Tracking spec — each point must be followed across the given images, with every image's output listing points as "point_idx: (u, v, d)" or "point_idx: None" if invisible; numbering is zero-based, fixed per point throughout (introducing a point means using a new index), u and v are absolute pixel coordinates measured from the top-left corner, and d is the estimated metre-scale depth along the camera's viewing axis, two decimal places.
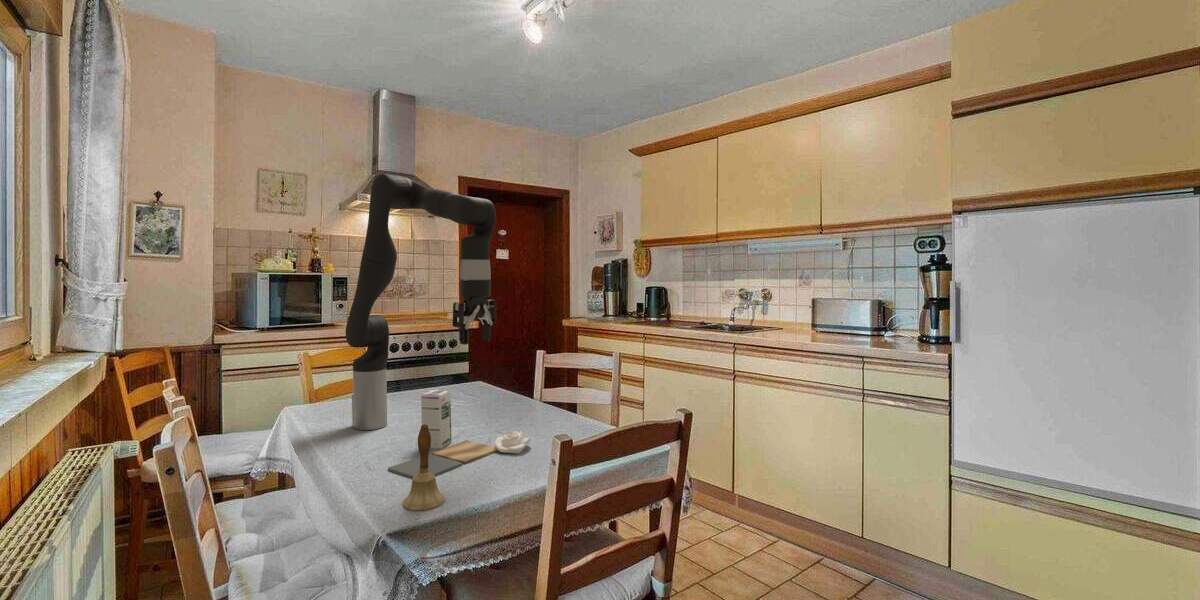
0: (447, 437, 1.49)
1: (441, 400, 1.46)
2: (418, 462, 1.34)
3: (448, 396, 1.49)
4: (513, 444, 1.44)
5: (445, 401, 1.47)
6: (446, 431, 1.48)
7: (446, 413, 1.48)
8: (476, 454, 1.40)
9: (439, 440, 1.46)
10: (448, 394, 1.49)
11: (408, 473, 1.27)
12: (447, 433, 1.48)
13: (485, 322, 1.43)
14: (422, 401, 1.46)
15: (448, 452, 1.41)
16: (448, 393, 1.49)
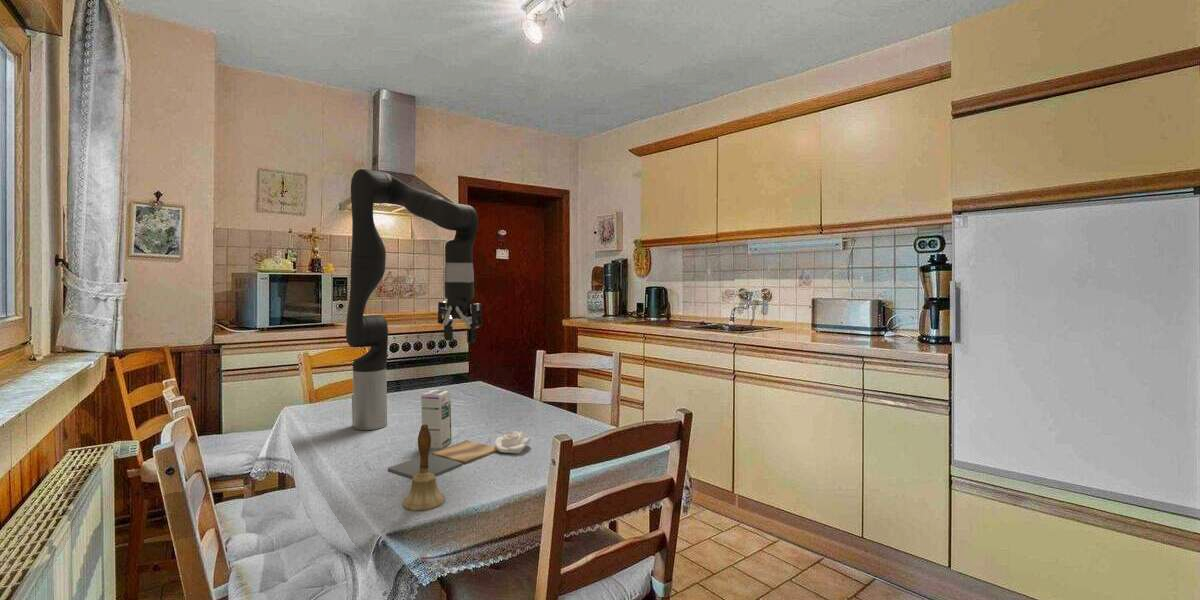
0: (447, 437, 1.49)
1: (441, 400, 1.46)
2: (418, 462, 1.34)
3: (448, 396, 1.49)
4: (513, 444, 1.44)
5: (445, 401, 1.47)
6: (446, 431, 1.48)
7: (446, 413, 1.48)
8: (476, 454, 1.40)
9: (439, 440, 1.46)
10: (448, 395, 1.49)
11: (408, 473, 1.27)
12: (447, 433, 1.48)
13: (448, 323, 1.48)
14: (422, 401, 1.46)
15: (448, 452, 1.41)
16: (448, 393, 1.49)
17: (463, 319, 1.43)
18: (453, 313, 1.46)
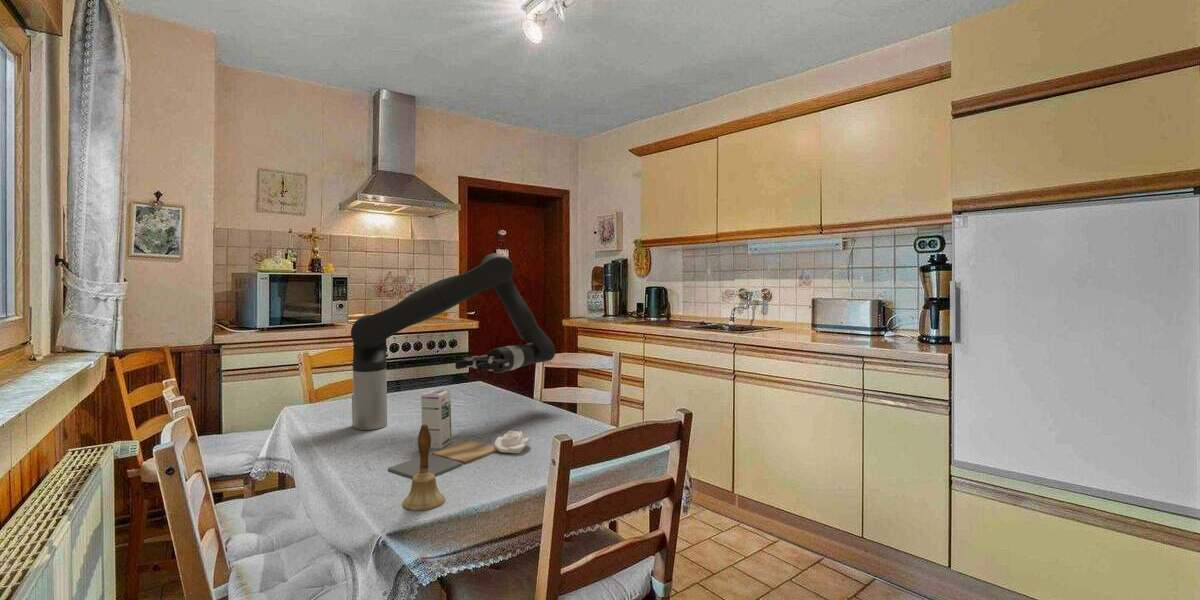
0: (447, 437, 1.49)
1: (441, 400, 1.46)
2: (418, 462, 1.34)
3: (448, 396, 1.49)
4: (513, 444, 1.44)
5: (445, 401, 1.48)
6: (446, 431, 1.48)
7: (446, 413, 1.48)
8: (476, 454, 1.40)
9: (439, 440, 1.46)
10: (448, 395, 1.49)
11: (408, 473, 1.27)
12: (447, 433, 1.48)
13: (468, 362, 1.63)
14: (422, 401, 1.46)
15: (448, 452, 1.41)
16: (448, 393, 1.49)
17: (490, 359, 1.60)
18: (483, 358, 1.64)
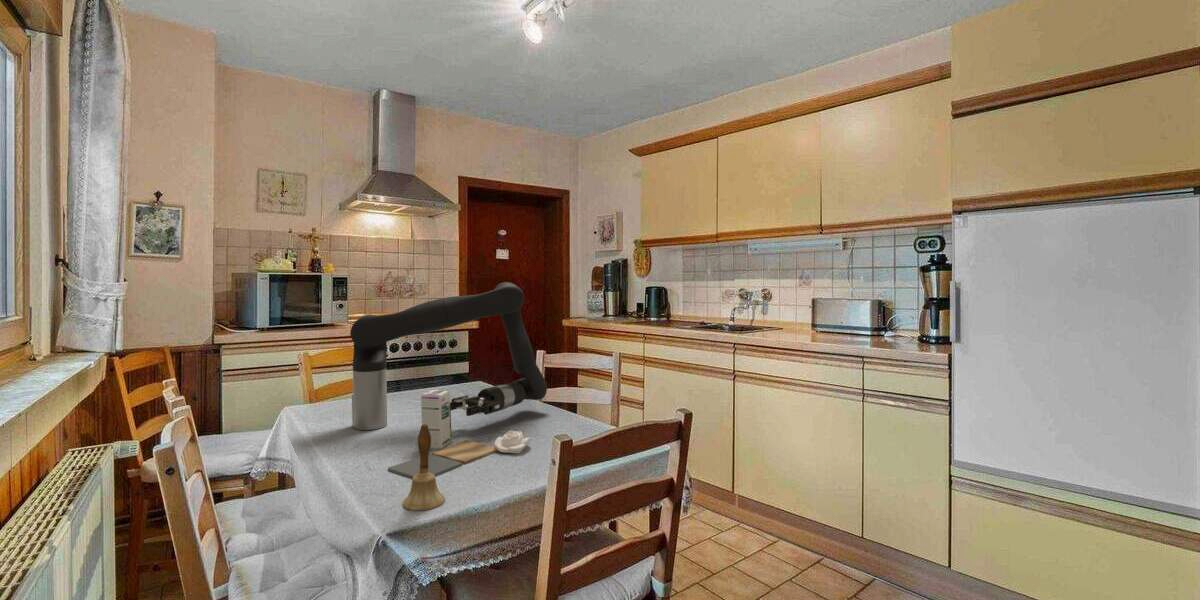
0: (447, 437, 1.49)
1: (441, 400, 1.46)
2: (418, 462, 1.34)
3: (448, 396, 1.49)
4: (513, 444, 1.44)
5: (445, 401, 1.47)
6: (446, 431, 1.48)
7: (446, 413, 1.48)
8: (476, 454, 1.40)
9: (439, 440, 1.46)
10: (448, 394, 1.49)
11: (408, 473, 1.27)
12: (447, 433, 1.48)
13: (457, 403, 1.61)
14: (422, 401, 1.46)
15: (448, 452, 1.41)
16: (448, 393, 1.49)
17: (480, 401, 1.58)
18: (473, 400, 1.61)
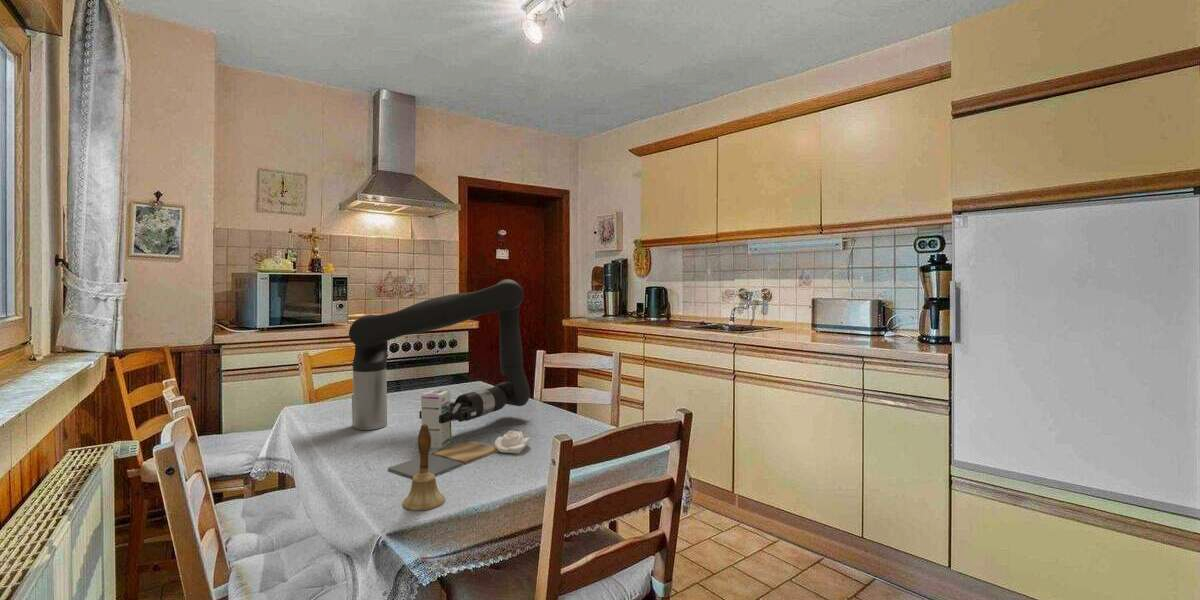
0: (447, 437, 1.49)
1: (441, 400, 1.46)
2: (418, 462, 1.34)
3: (448, 396, 1.49)
4: (513, 444, 1.44)
5: (445, 401, 1.47)
6: (446, 431, 1.48)
7: None
8: (476, 454, 1.40)
9: (439, 440, 1.46)
10: (448, 394, 1.49)
11: (408, 473, 1.27)
12: (447, 433, 1.48)
13: None
14: (422, 401, 1.46)
15: (448, 452, 1.41)
16: (448, 393, 1.49)
17: (456, 407, 1.50)
18: None
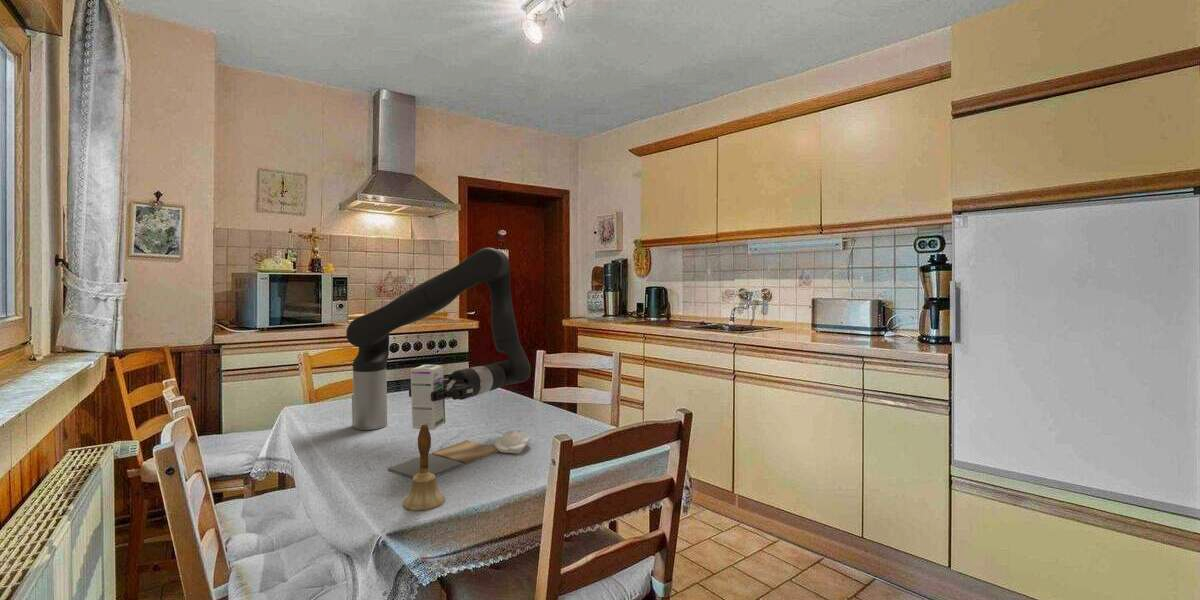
0: (440, 417, 1.33)
1: (433, 375, 1.30)
2: (418, 462, 1.34)
3: (441, 371, 1.33)
4: (513, 444, 1.44)
5: (438, 376, 1.32)
6: (439, 410, 1.32)
7: None
8: (476, 454, 1.40)
9: (431, 420, 1.30)
10: (441, 370, 1.34)
11: (408, 473, 1.27)
12: (440, 412, 1.33)
13: None
14: (411, 376, 1.30)
15: (448, 452, 1.41)
16: (441, 368, 1.33)
17: (450, 384, 1.34)
18: None
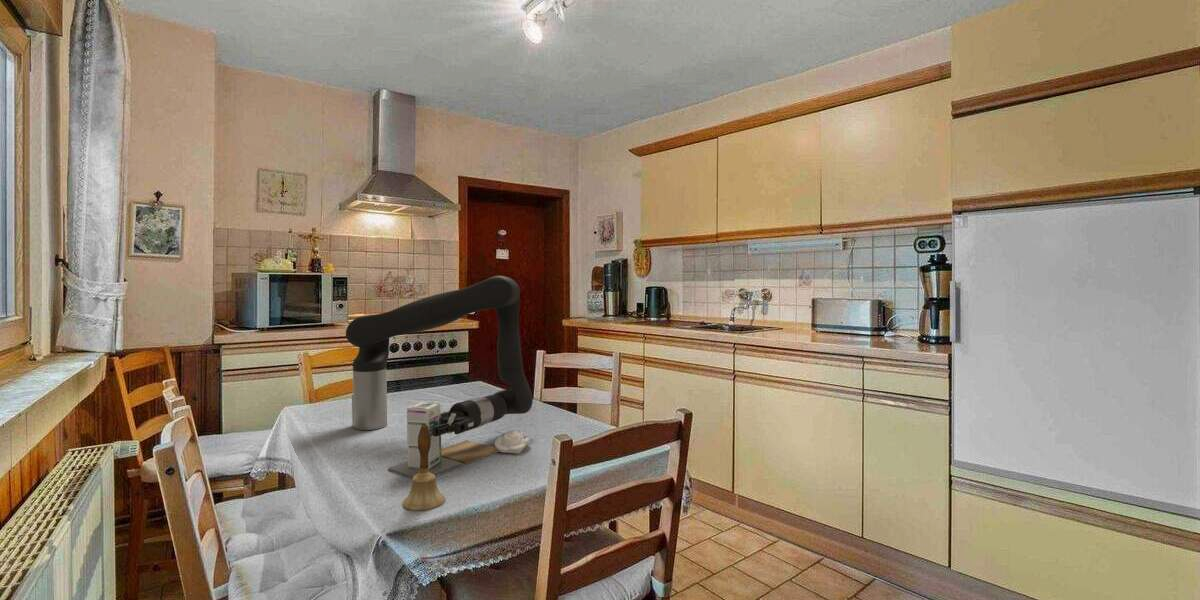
0: (436, 456, 1.32)
1: (429, 415, 1.29)
2: None
3: (438, 410, 1.33)
4: (513, 444, 1.44)
5: (434, 415, 1.31)
6: (435, 449, 1.32)
7: None
8: (476, 454, 1.40)
9: None
10: (438, 408, 1.33)
11: (408, 473, 1.27)
12: (436, 451, 1.32)
13: None
14: (407, 415, 1.30)
15: (448, 452, 1.41)
16: (437, 406, 1.33)
17: (451, 418, 1.34)
18: (443, 416, 1.38)
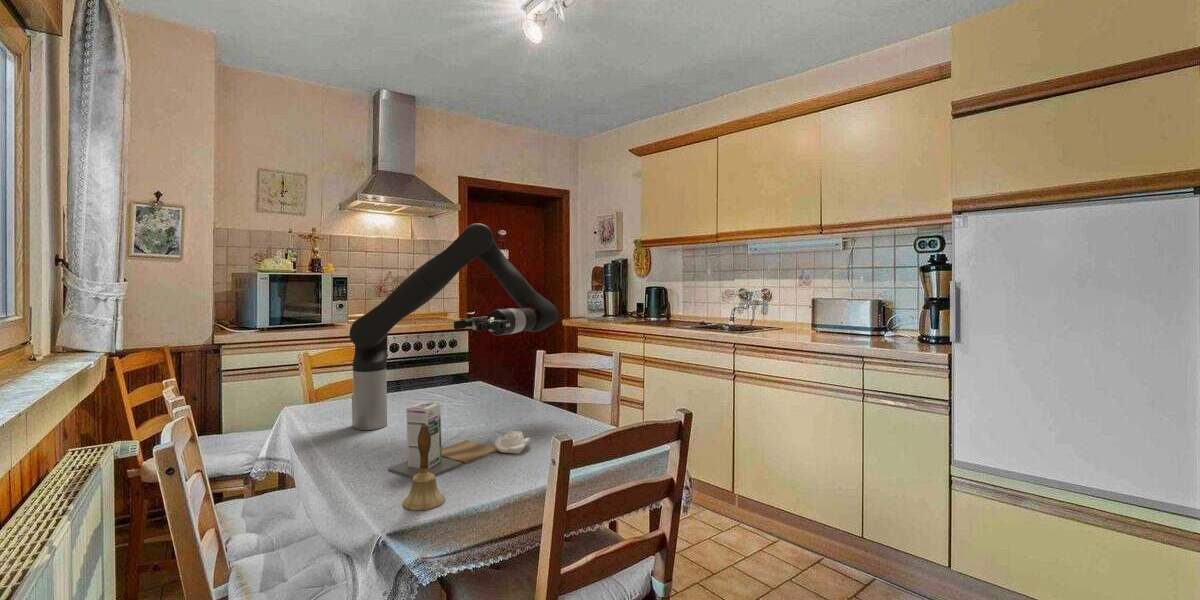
0: (436, 456, 1.32)
1: (428, 415, 1.29)
2: None
3: (437, 410, 1.33)
4: (513, 444, 1.44)
5: (433, 415, 1.31)
6: (435, 449, 1.32)
7: (435, 429, 1.32)
8: (476, 454, 1.40)
9: None
10: (438, 408, 1.33)
11: (408, 473, 1.27)
12: (436, 451, 1.32)
13: (467, 323, 1.54)
14: (407, 415, 1.30)
15: (448, 452, 1.41)
16: (437, 407, 1.33)
17: (491, 319, 1.51)
18: (482, 319, 1.55)
